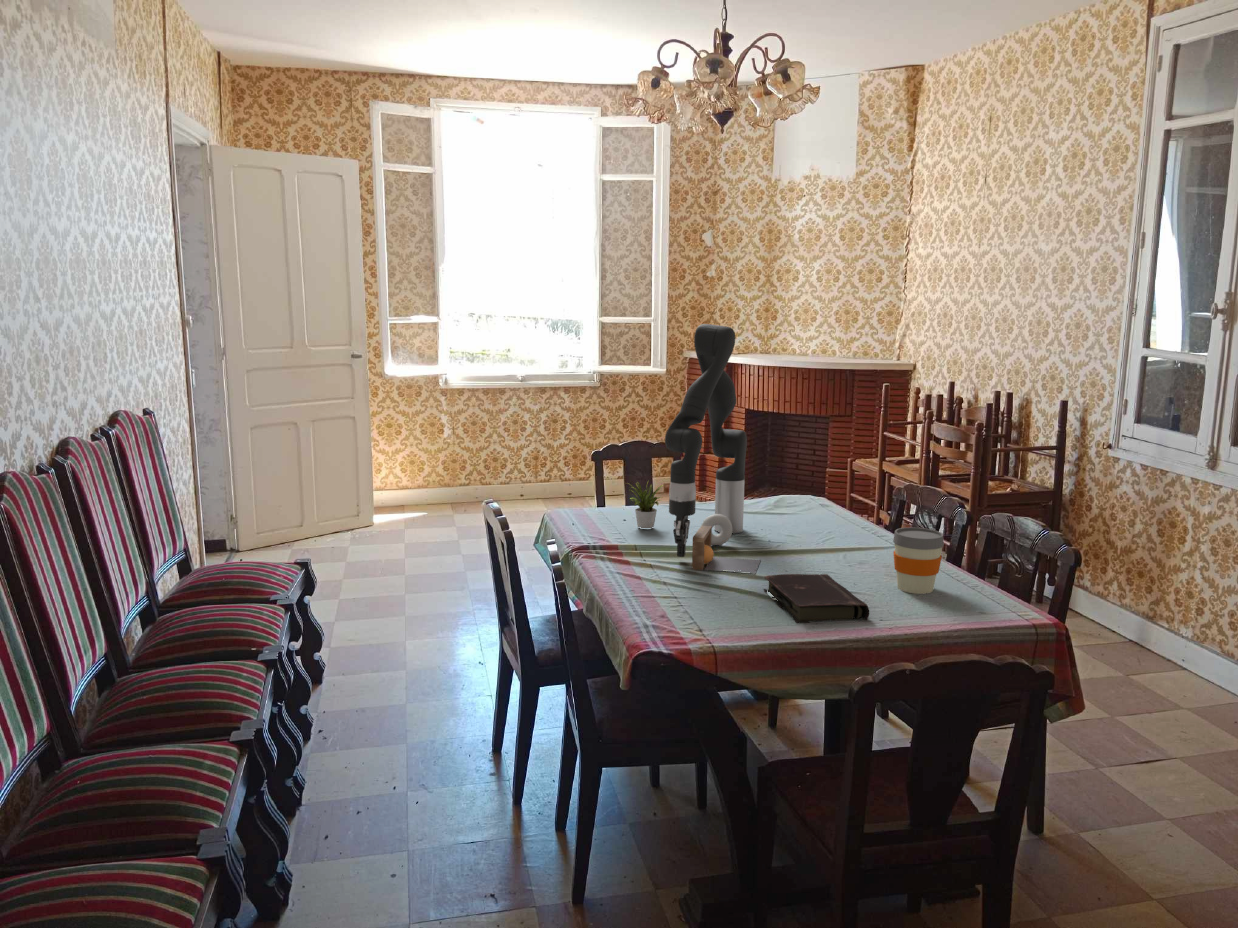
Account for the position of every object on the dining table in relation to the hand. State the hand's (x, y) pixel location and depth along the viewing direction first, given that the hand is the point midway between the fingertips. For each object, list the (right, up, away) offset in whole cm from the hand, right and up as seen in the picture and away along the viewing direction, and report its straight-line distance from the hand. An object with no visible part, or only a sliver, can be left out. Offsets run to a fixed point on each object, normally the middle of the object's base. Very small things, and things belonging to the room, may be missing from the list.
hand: (681, 556), depth 268 cm
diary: (+30, -9, -37) cm, 48 cm away
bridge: (+6, -2, -1) cm, 6 cm away
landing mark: (+15, -2, -4) cm, 15 cm away
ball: (+6, +1, -3) cm, 7 cm away
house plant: (-10, +5, +39) cm, 40 cm away
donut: (+12, +1, +18) cm, 21 cm away
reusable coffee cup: (+60, -6, -23) cm, 65 cm away
